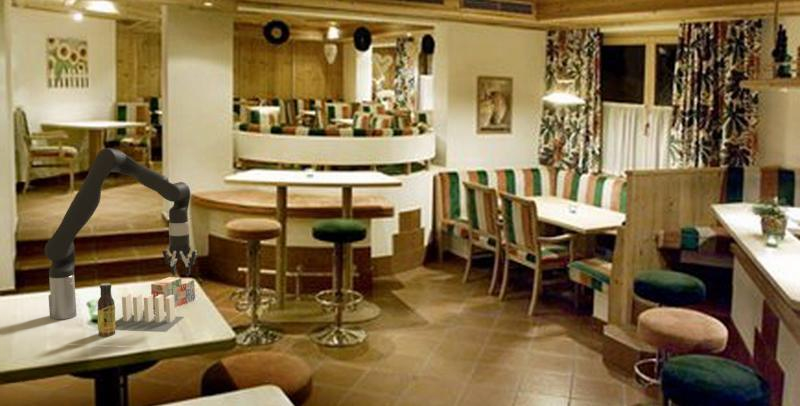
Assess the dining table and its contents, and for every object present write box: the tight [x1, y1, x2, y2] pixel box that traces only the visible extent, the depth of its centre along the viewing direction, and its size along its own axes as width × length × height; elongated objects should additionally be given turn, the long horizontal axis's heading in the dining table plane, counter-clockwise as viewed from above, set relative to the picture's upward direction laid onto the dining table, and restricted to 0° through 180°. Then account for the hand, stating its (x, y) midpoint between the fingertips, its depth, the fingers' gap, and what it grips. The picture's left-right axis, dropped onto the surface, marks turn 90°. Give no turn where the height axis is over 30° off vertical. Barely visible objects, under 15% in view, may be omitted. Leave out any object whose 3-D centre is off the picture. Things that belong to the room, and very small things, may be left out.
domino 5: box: [165, 295, 176, 323], centre depth 304 cm, size 2×5×10 cm, turn 175°
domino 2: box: [132, 293, 144, 321], centre depth 306 cm, size 2×5×10 cm, turn 175°
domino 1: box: [121, 292, 133, 321], centre depth 306 cm, size 2×5×10 cm, turn 175°
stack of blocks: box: [150, 276, 196, 313], centre depth 326 cm, size 21×6×12 cm, turn 159°
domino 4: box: [154, 295, 165, 322], centre depth 305 cm, size 2×5×10 cm, turn 175°
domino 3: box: [143, 293, 155, 322], centre depth 305 cm, size 2×5×10 cm, turn 175°
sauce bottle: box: [97, 282, 117, 338], centre depth 287 cm, size 6×6×20 cm
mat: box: [115, 314, 185, 333], centre depth 302 cm, size 25×19×1 cm
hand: (180, 275), depth 302 cm, fingers open, 4 cm apart
